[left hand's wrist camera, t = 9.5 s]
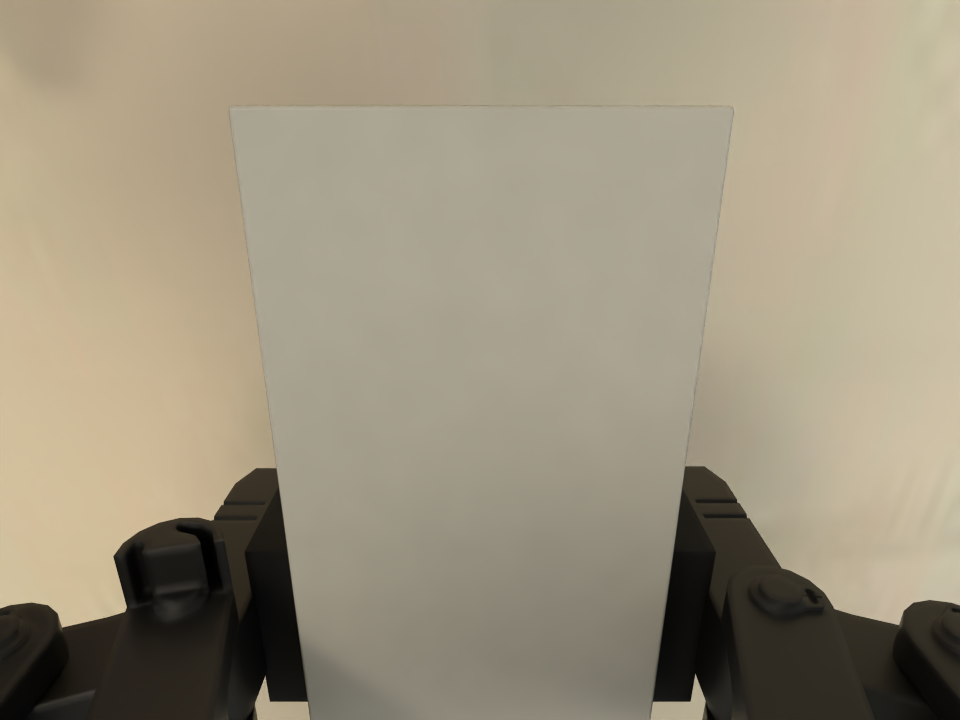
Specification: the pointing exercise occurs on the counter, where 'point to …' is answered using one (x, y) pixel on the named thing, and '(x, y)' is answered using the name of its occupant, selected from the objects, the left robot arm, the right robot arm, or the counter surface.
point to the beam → (480, 392)
